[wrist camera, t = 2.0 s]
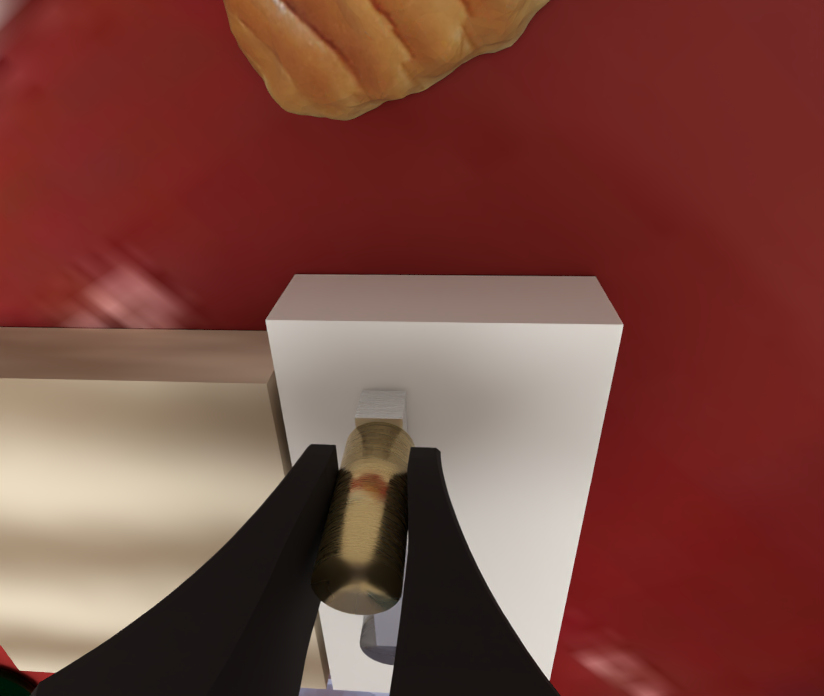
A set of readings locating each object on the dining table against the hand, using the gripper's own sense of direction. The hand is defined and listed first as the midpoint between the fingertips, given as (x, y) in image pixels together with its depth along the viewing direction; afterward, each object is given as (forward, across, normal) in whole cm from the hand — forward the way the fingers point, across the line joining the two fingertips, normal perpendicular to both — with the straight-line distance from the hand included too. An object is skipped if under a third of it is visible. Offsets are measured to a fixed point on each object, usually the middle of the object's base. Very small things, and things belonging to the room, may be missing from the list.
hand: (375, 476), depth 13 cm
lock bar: (+2, 0, +5) cm, 5 cm away
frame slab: (+5, -2, +6) cm, 8 cm away
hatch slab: (+5, +10, +7) cm, 14 cm away
